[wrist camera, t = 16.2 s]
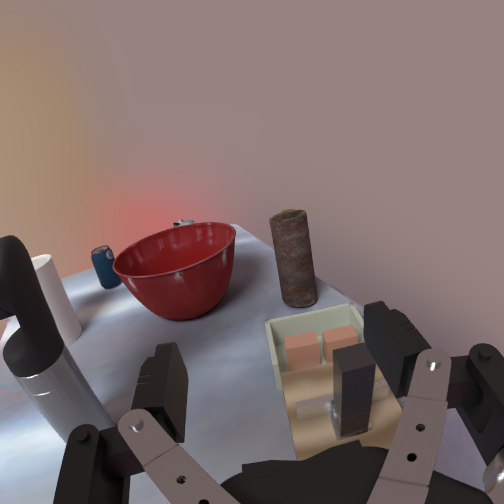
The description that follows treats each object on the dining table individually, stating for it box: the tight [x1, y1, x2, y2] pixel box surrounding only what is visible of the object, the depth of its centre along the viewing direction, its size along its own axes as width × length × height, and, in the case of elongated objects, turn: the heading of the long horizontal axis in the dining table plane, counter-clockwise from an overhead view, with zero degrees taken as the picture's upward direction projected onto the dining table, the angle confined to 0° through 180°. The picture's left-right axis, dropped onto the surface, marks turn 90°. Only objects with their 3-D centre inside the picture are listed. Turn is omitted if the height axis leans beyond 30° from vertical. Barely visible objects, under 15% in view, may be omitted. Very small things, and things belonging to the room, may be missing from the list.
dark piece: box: [295, 342, 390, 441], centre depth 32 cm, size 5×12×12 cm, turn 94°
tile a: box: [284, 331, 320, 371], centre depth 49 cm, size 5×5×3 cm
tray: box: [264, 302, 365, 392], centre depth 50 cm, size 11×16×6 cm
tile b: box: [322, 325, 358, 363], centre depth 49 cm, size 5×5×3 cm
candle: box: [269, 209, 317, 307], centre depth 65 cm, size 8×7×20 cm
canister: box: [31, 254, 82, 347], centre depth 65 cm, size 14×14×20 cm
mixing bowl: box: [113, 222, 236, 320], centre depth 73 cm, size 28×28×15 cm
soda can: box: [91, 245, 121, 289], centre depth 91 cm, size 7×7×12 cm
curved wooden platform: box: [280, 360, 402, 461], centre depth 38 cm, size 17×14×4 cm
